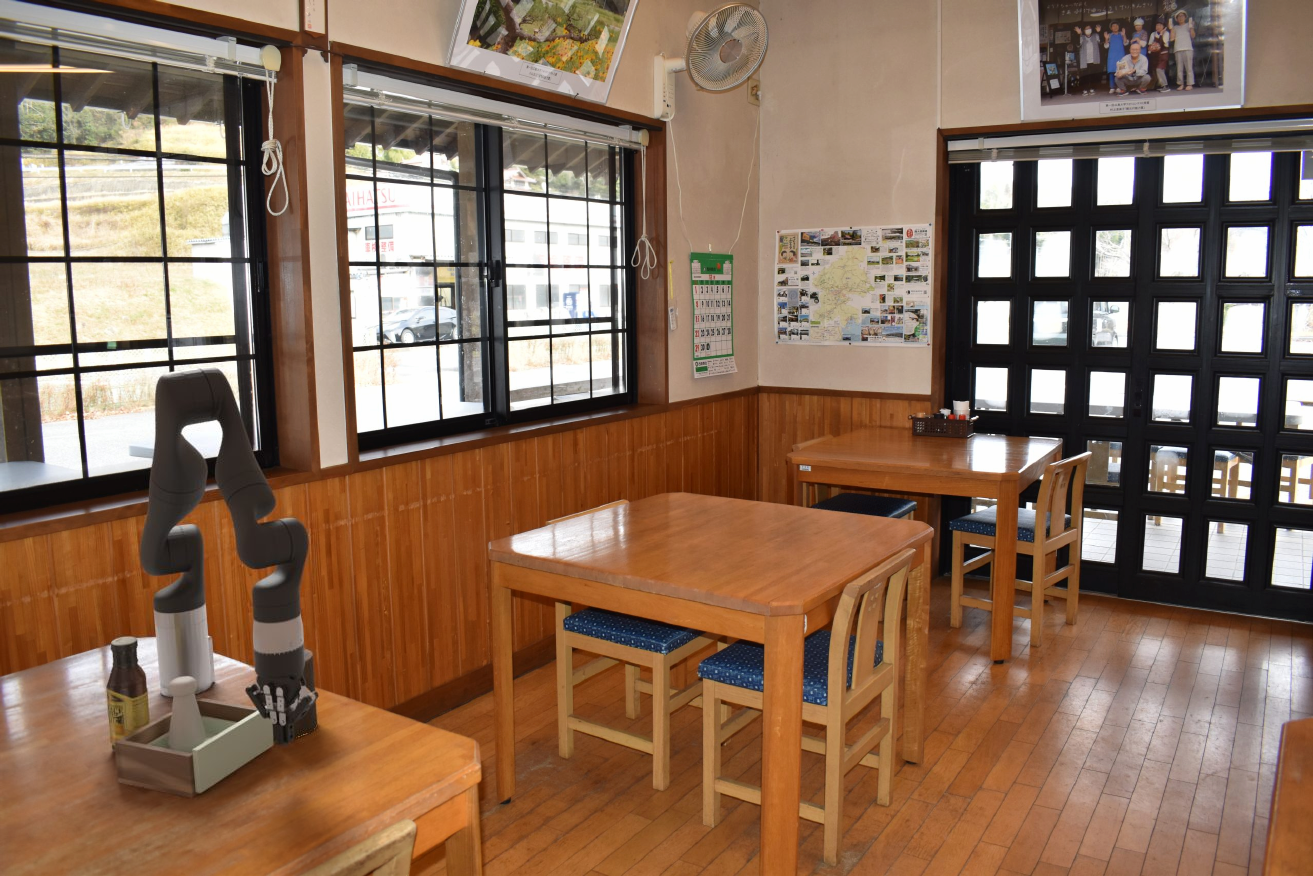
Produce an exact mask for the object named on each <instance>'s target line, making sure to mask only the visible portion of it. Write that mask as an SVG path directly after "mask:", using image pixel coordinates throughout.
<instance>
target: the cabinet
mask: <svg viewBox="0 0 1313 876" xmlns="http://www.w3.org/2000/svg"><path fill="white" fill-rule="evenodd" d="M195 698H196V701H197V705H198V708H199V712H200V715H201V716H206V717H212V718H217V719H223V720H229V721H234V722H239V721H241V720H243V719H244V718H246V717H248V716H249V715H251V714H253V713H254V712H256V711H258V710H257V708H256V707H255V706H251V705H245V704H238V703H233V702H227V701H220V700H215V699H210V698H209V699H208V698H204V697H195ZM171 715H172V711H170V712H168V713H166V714H165V715H163V716H161V717H158V719H156V720H154V721H150V723H149V724H148V725H146V726H144V727H142V728H140V729H138V730H136V731H135V732H133V733H131V734H129V735H127V736H125V737H123V738H121V739H120V740H118V741H116V742H114V743H115V752H114V753H115V763H116V774H117V775H116V776H117V783H118V782H119V784H123V783H124V784H125V785H128V784H131V785H130V786H133V785H135V786H134V787H138V786H139V787H138V788H142V787H144V788H143V789H148V790H152V791H157V792H161V793H166V792H167V794H171V793H173V794H172V795H176V794H177V795H176V796H180V795H181V797H186V798H190V799H193V798H194V797H196V796H197V795H199V794H200V793H198V792H196V790H195V777H194V765H193V754H192V753H187V752H182V751H177V750H172V749H166V748H161V747H156V746H151V745H146V744H148V743H150V742H151V741H153V740H155V739H157V738H159V737H160V736H162V735H164V734H166V733H168V732H169V731H170V723H171ZM124 784H123V785H124Z"/></svg>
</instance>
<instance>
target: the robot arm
mask: <svg viewBox="0 0 1313 876" xmlns="http://www.w3.org/2000/svg"><path fill="white" fill-rule="evenodd" d="M214 421H217V422H218V424H219V425H220V427H221V432H222V436H221V442H220V447H219V450H218V455H217V458H216V460H215V461H216V462H215V466H214V467H215V468H214V478H215V479H214V480H215V482H216V485H217V488H218V491H219V492H220V494H221V497H222V498H223V500H224V502H225V503H224V504H226V506H227V509H228V511H229V513H230V516H231V522H232V524H233V530H234V536H235V538H234V539H235V546H236V552H237V556H238V559H239V560H240V562H241V563H242V564H243V565H245V566H246V567H247V568H249V569H251V570H263V569H267V568H271V567H275V566H276V567H275V569H274V570H273V572H272V573H271V574H269V575H268V576H266V577H264V578H262V579H260V580H259V581H256V582H255V584H254V585H253V586H252V590H251V592H252V593H251V597H252V598H251V599H252V613H253V614H252V615H253V616H252V617H253V623H252V624H253V626H252V642H253V643H252V644H253V657H254V658H253V659H254V671H255V674H256V678H255V682H254V683H252V684H250V685H249V686H247V687H246V688H245V690H244V692H245V694H246V695H247V696H248V698H249V700H250V701H251V702H252V704H253V705H254V707H256V708H257V710H258V711H259V713H260V714H261V716H262V717H263V718H264V719H266V718H269V719H271V722H272V723H273V725H274V738H275V740H274V741H275V744H276V745H278V746H283V747H286V746H288V745H290V744H291V743H292V742H293V740H294V723H295V722H296V721H298V720H299V719H301V718H302V717H304V715H305V714H306V713H307V711H308V710H309V709H310V707H311V706H312V705H313V703H314V702H315V701H316V702H317V699H318V698H319V693H318V692H317V691H316V690H315V691H313V692H312V693H311V692H310V691H309V690H308V689H307V688H306V687H305V686H306V681H305V679H304V677H303V670H304V666H305V656H304V649H305V643H304V642H305V641H304V640H305V639H304V638H305V637H304V624H303V621H302V613H301V599H300V589H301V584H302V579H303V573H304V569H305V566H306V561H307V558H308V553H309V547H310V546H309V545H310V541H309V533H308V531H307V528H306V527H305V525H304V524H303V523H302V522H301V521H300V520H299V519H297V518H295V517H284V518H280V519H276V520H269V521H264V522H259V523H258V521H260V520H262V519H264V518H266V517H267V516H269V515H271V513H272V512H273V511H274V510H275V508H276V505H277V499H276V496H275V494H274V492H273V490H272V487H271V486H270V484H269V482H268V481H267V478H266V476H265V475H264V473H263V471H262V469H261V466H260V465H259V462H258V459H256V456H255V453H254V451H253V449H252V445H251V443H250V439H249V436H248V433H247V430H246V427H245V423H244V421H243V418H242V415H241V412H240V409H239V405H238V403H237V400H236V398H235V394H234V392H233V389H232V387H231V385H230V382H229V380H228V378H227V377H226V375H225V373H223V371H222V370H220V369H219V368H218V367H215V366H207V367H203V366H202V367H196V368H190V369H184V370H175V371H170V372H166V373H164V374H162V375H161V376H160V377H159V378H158V379H157V383H156V385H155V393H154V422H155V423H154V425H155V426H154V431H155V432H154V434H155V435H154V447H153V456H152V462H151V468H150V476H149V483H148V484H149V486H148V487H149V488H148V489H149V490H148V504H147V513H146V517H145V521H144V525H143V531H142V535H141V538H140V539H141V540H140V546H139V560H140V564H141V567H142V569H143V571H144V572H145V573H146V574H147V575H149V576H151V577H158V576H159V577H160V576H161V577H163V576H169V575H176V574H180V573H182V574H181V575H180V577H178V579H177V580H175V581H173V582H172V583H171V584H169V585H166V586H165V587H163V588H161V589H160V590H157V592H156V593H155V594H154V595H153V598H152V599H153V600H152V603H153V617H154V628H155V639H156V641H155V642H156V651H157V663H158V675H159V678H158V679H159V688H160V694H161V695H163V696H165V697H168V698H173V697H174V696H171V695H170V693H169V684H170V682H171V681H172V680H174V679H176V678H178V677H184V676H190V677H193V678H194V679H196V681H197V689H196V691H195V692H194V694H195V695H199V694H200V693H203V692H205V691H207V690H208V689H210V688H211V687H212V684H213V683H214V682H215V681H216V676H215V664H214V663H215V661H214V650H213V649H214V647H213V637H212V636H210V635H209V631H208V620H207V619H208V618H207V607H206V604H207V603H206V586H205V583H206V582H205V550H204V549H205V548H204V546H205V545H204V539H203V534H202V532H201V530H200V528H199V526H197V525H196V524H193V523H188V524H179V523H181V521H183V520H184V519H185V518H186V517H187V516H188V515H189V514H191V513H192V512H193V510H195V509H196V508H197V506H198V505H199V504H200V502H201V501H202V499H203V497H204V495H205V493H206V487H207V485H206V484H207V479H208V472H209V471H208V469H209V468H208V464H207V461H206V459H205V458H204V457H203V455H202V453H201V452H200V451H199V450H198V449H197V448H196V447H195V446H194V445H193V444H191V442H189V440H187V439H186V437H184V435H183V434H182V433H183V432H182V431H183V429H184V428H186V427H187V426H192V425H196V424H197V425H198V424H203V423H209V422H214ZM177 524H179V525H177ZM299 695H300V697H299ZM298 697H299V700H298ZM298 702H299V704H298V706H297V703H298ZM263 703H265V704H266V706H267V709H266V707H265V706H264V704H263ZM296 706H297V707H296Z"/></svg>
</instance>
